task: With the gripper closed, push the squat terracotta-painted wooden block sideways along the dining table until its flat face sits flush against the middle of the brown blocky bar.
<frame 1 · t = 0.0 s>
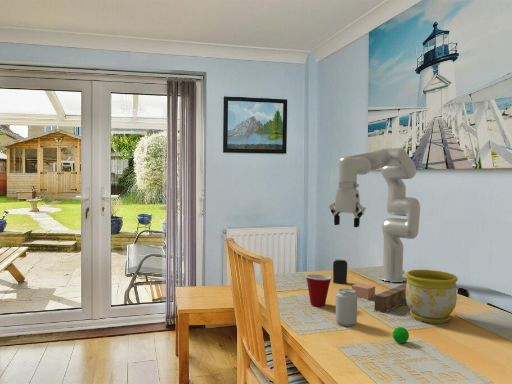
hand: (346, 225, 189), 31 cm above the table, tool pointing down, fingers open, 9 cm apart
terracotta block: (363, 297, 192), on the table
battery charger: (339, 282, 216), on the table
plastic cup: (318, 305, 179), on the table
can: (345, 323, 157), on the table
brown blocky bar: (395, 304, 182), on the table
green ball: (400, 343, 140), on the table
flowerpot: (429, 318, 165), on the table
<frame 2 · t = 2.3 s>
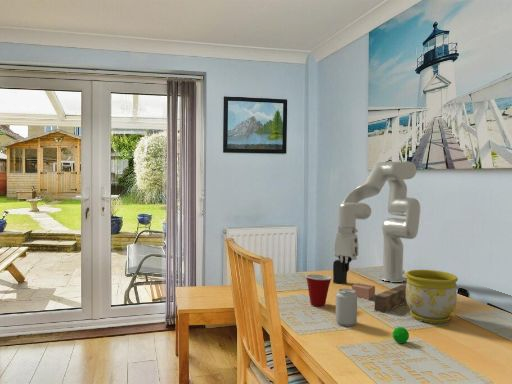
hand: (345, 271, 197), 10 cm above the table, tool pointing down, fingers closed
nothing on the table moved.
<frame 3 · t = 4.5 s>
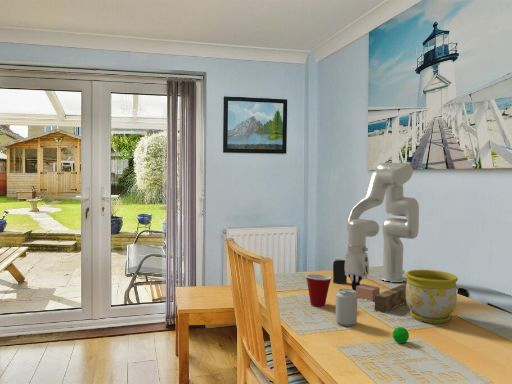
hand: (355, 290, 194), 2 cm above the table, tool pointing down, fingers closed
terracotta block: (367, 298, 190), on the table, touching gripper
everything else where it was.
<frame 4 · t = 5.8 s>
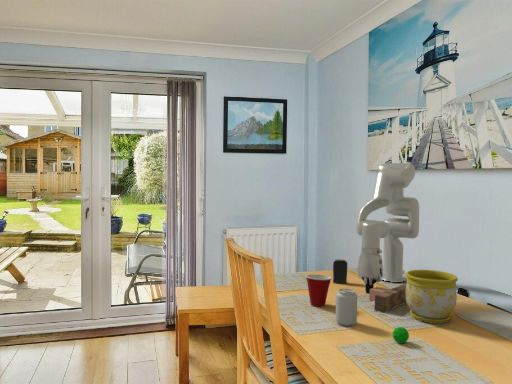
hand: (369, 293, 190), 2 cm above the table, tool pointing down, fingers closed
terracotta block: (381, 301, 185), on the table, touching gripper, brown blocky bar
everything else where it was.
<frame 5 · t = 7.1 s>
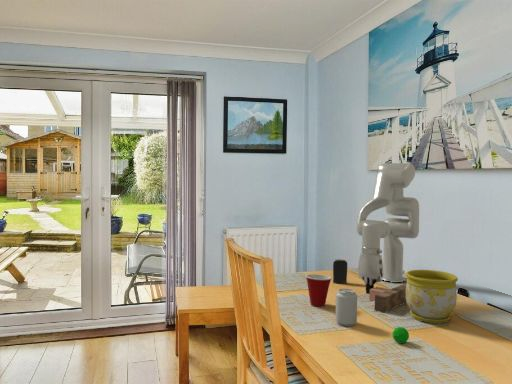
hand: (369, 293, 190), 2 cm above the table, tool pointing down, fingers closed
nothing on the table moved.
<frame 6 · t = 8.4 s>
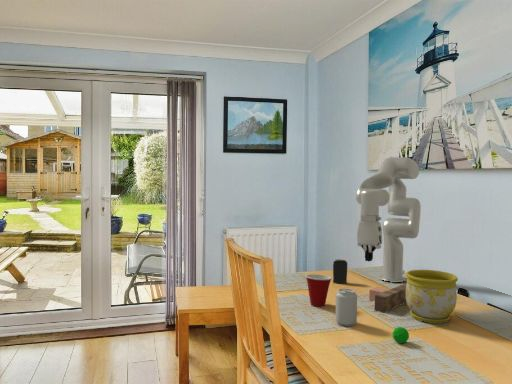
hand: (368, 260, 190), 16 cm above the table, tool pointing down, fingers closed
terracotta block: (381, 301, 185), on the table
everything else where it was.
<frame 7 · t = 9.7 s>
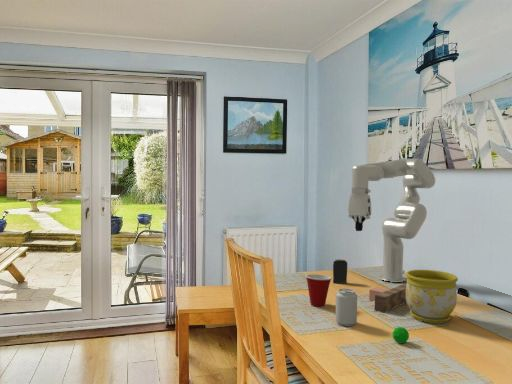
hand: (358, 230, 206), 27 cm above the table, tool pointing down, fingers closed
nothing on the table moved.
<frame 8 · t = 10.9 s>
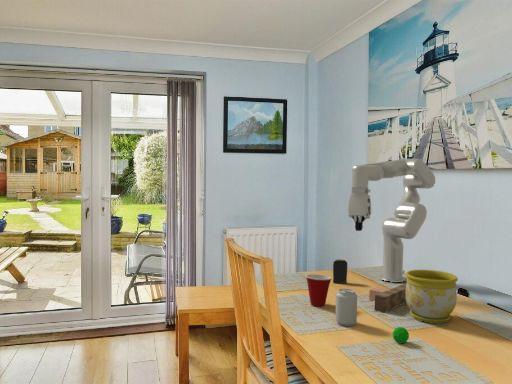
hand: (358, 230, 206), 27 cm above the table, tool pointing down, fingers closed
nothing on the table moved.
at the end: terracotta block 0.7 cm from the target spot on the table beside the brown blocky bar, on the table; terracotta block tilted 0° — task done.
